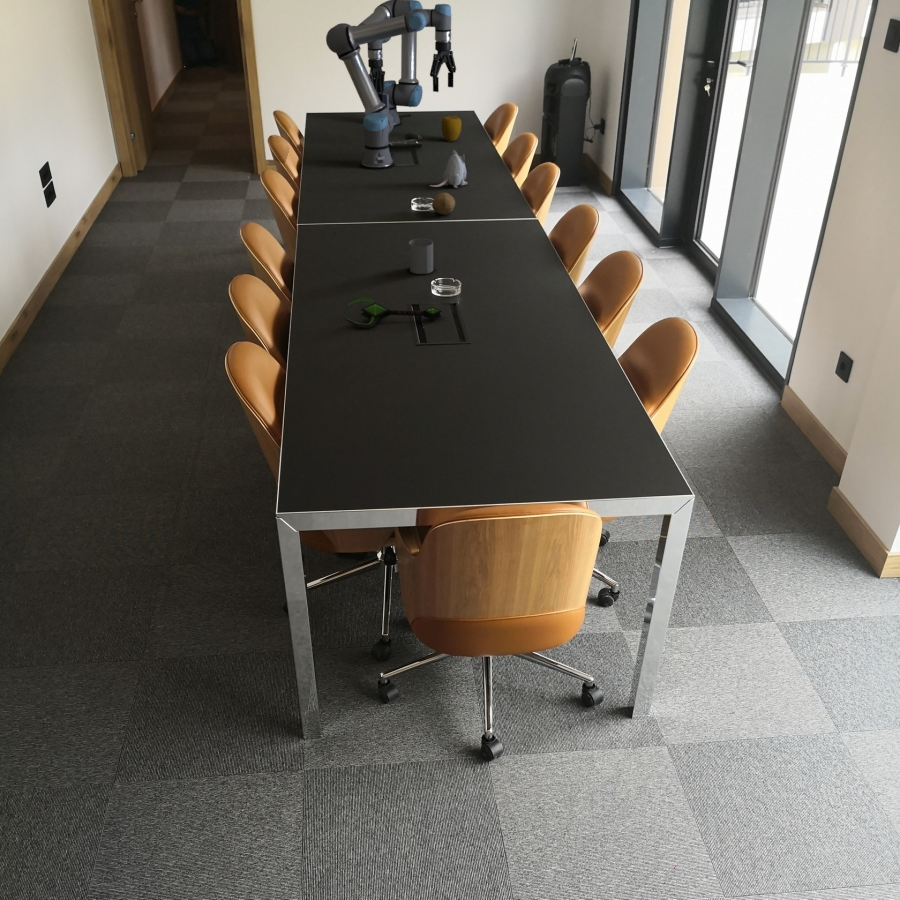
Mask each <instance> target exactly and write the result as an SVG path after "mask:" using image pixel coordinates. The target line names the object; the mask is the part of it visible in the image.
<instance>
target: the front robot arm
mask: <svg viewBox="0 0 900 900" xmlns="http://www.w3.org/2000/svg"><path fill="white" fill-rule="evenodd" d="M352 26H353V25H351V24H349V23H346V22H343V23H342V22H341V23H338V24H336V25H334V26H332V27H331V28H329V30H328V31H327V32H326V36H325V42H326V46H327V47H328V49H329V50H330V51H331V52H332V53H334V54H336V56H337V58H338V59H339V60H340V61H342V62H343V64H344V66H345V69H346V70H347V73H348V75H349V77H350V80H351V82H352V84H353V86H354V88H355V91H356V93H357V95H358V97H359V99H360V102H361V104H362V106H363V108H364V112H363V116H364V117H363V122H362V125H363V138H364V139H363V140H364V151H363V155H362V159H361V166H362V167H363V168H366V169H371V170H381V169H387V168H390V167H392V166H394V161H393V158H392V155H393V152H394V151H392V150H391V149H390V147H389V145H390V144H389V135H390V134H391V133H392V131H393V130H394V127H395V126H394V118H393V116H392V114H391V113H390V112H389V111H388V110H387V107H386V105H385V104H384V103H381V101H380V99H379V97H378V95H377V92H376V90H375V88H374V85H373V83H372V81H371V79H370V76H369V74H370V73H369V72H368V70H367V67H366V66H365V62H364V61H363V59H362V56H361V54H360V52H361V46H362V45H367V43H370V42H374V41H378V40H382V39H386V38H390V37H391V38H393V37H397V36H401V35H402V34H406V33H410V32H417V33H418V32H421V31H423V30H424V28H434V40H435V42H434V47H435V48H434V50H435V51H437V52H436V53H433V54H432V55H433V56H432V57H433V58H432V63H431V66H430V67H431V68H430V72H429V76H430V77H431V78H432V92H434V93H439V87H440V84H439V83H440V82H439V74H440V71H441V68H442V65H443V64H445V66H446V68H447V71H448V72H447V88H454V74H455V73H456V71H457V65H456V63H455V57H454V51H453V50H452V6H451V5H450V4H449V3H437V4H434V8H423V9H418V8H417V9H411V10H410V11H409V14H407V15H403V16H399V17H395V18H391V19H387V20H383V21H379V22H375V23H371V24H367V25H363V26H358V25H357V26H358V27H354V28H353V27H352Z"/></svg>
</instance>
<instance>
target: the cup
mask: <svg viewBox="0 0 900 900" xmlns="http://www.w3.org/2000/svg"><path fill="white" fill-rule="evenodd" d="M408 253H409V272H411V273H412V274H416V275H426V274H430V273H432V272H434V241H433V240H431V239H428V238H422V237H421V238H420V237H419V238H414V239H411V240H410V241H409V242H408Z"/></svg>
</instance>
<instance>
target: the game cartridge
mask: <svg viewBox="0 0 900 900" xmlns="http://www.w3.org/2000/svg"><path fill="white" fill-rule="evenodd" d="M377 95H378V97H379V99H380V101H381V103H384V104H385V105H386V107H387V110H388V111H389V95H388V94H385V93H378V92H377Z"/></svg>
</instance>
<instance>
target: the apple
mask: <svg viewBox="0 0 900 900" xmlns="http://www.w3.org/2000/svg"><path fill="white" fill-rule="evenodd" d="M461 132H462V120H461V118H460V117H459V116H456V115H447V116H444V117H443V118H442V120H441V133H442V136H443V138H444V140H445V141H446V142H454V141H457V140H458V138H459V136H460V134H461Z"/></svg>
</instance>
